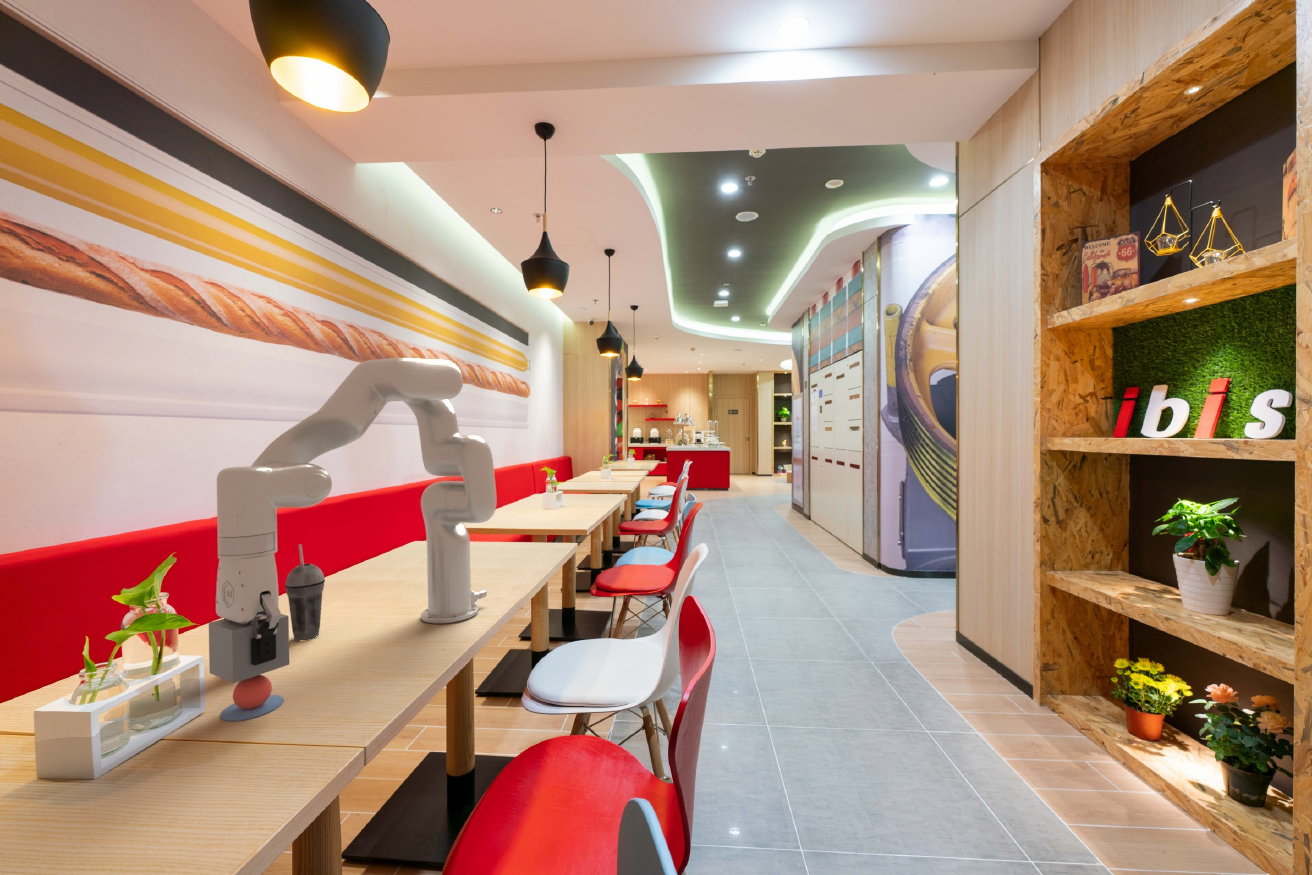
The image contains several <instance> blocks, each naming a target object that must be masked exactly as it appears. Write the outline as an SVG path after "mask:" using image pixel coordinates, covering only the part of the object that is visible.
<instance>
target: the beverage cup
mask: <svg viewBox="0 0 1312 875" xmlns="http://www.w3.org/2000/svg"><path fill="white" fill-rule="evenodd" d="M302 546H303V545H302V544H298V552H299V560H300V564H298V565H297V566H295V567H294V568H292V570H290V571H289V573H288V574H287V577H286V579H285V585H284V588H285V592H286V596H287V598H288V604H289V605H288V606H289V613H290V614H289V615H290V622H291V629H292V630H291V631H292V634H293V640H294V641H295V640H297V641H296V642H301V641H300V640H306V641H310V640H309V639H311V640H314V639H316V638H317V637H316V636H318V635H319V636H320V628H321V617H322V616H321V615H322V606H323V605H322V603H323V602H322V601H323V591H324V587H325V583H326V580H325V576H324V573H323V571H322V569H321V568H319V567H318V566H317V565H315V564H312V563H305V562H304V554H303V547H302ZM319 636H318V637H319ZM315 637H316V638H315ZM313 638H314V639H313Z"/></svg>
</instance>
